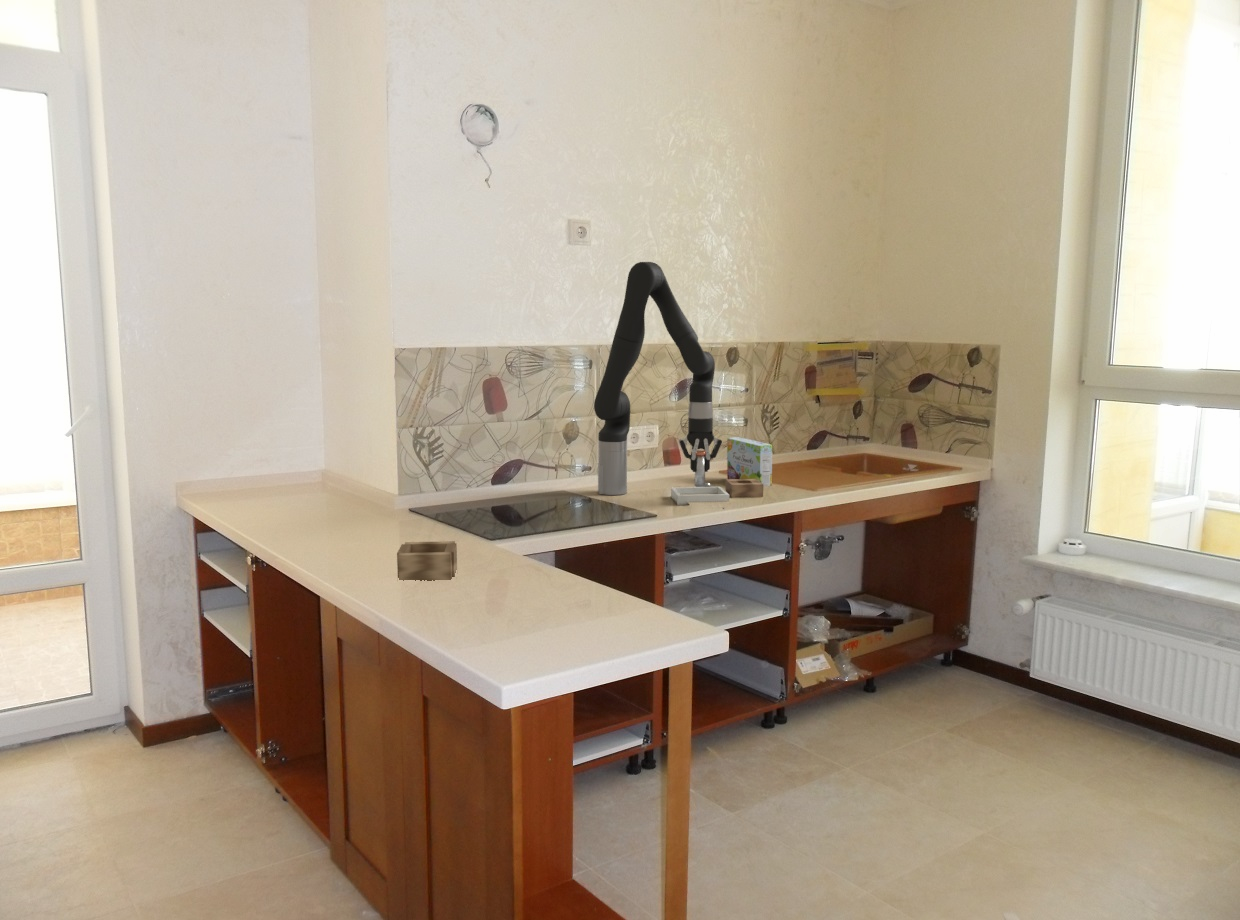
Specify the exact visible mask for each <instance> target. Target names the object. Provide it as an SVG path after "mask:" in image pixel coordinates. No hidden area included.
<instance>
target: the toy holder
mask: <svg viewBox="0 0 1240 920" xmlns="http://www.w3.org/2000/svg"><path fill="white" fill-rule="evenodd" d="M457 546H458V545H457V542H456V541H455V540H454V541H453V540H450V541H449V540H447V541H445V540H443V541H405V542H404V543H403V544H401V545H400V547H399V549H398V550H397V552H396V558H397V559H396V564H397V567H396V568H397V579H398V578H399V580H403V581H404V580H415V581H416V580H420V581H422V580H424V581H425V580H427V581H432V580H433V581H435V580H451V579H452V577H455V573H456V570H457V571H458V554H457V553H458V550H457V549H458V548H457Z"/></svg>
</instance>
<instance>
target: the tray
mask: <svg viewBox="0 0 1240 920" xmlns="http://www.w3.org/2000/svg"><path fill="white" fill-rule="evenodd" d="M670 497H671V498H672V500H673V501H674V503H675V504H676V505H677V506H690V503H706V502H707V503H708V502H709V503H711V502H713V503H714V502H715V503H716V502H717V503H718V502H721V503H722V502H730V496H729V494H728V493H727V492H726V491H725V489H724V488H723V487H722V486H717V487H696V486H681V487H680V486H679V487H678V486H677V487H676V486H674V487H670Z"/></svg>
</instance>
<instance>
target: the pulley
mask: <svg viewBox="0 0 1240 920" xmlns="http://www.w3.org/2000/svg"><path fill="white" fill-rule="evenodd" d="M704 487H718V486H716V485H711V482H705V486H704Z"/></svg>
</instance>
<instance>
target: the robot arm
mask: <svg viewBox="0 0 1240 920" xmlns="http://www.w3.org/2000/svg"><path fill="white" fill-rule="evenodd" d="M624 293H625V294H624V300H623V305H622V308H621V312H620V315H619V319H618V323H617V326H616V329H615V332H614V336H613V340H612V344H611V349H610V353H609V356H608V359H607V362H606V367H605V370H604V375H603V377H602V380H601V383H600V385H599V387H598V390H597V392H596V396H595V397H594V398H595V399H594V403H593V409H594V410H593V411H594V413H595V415H596V416H597V418H598V419H600V420H601V421H604V425H603V427H602V428H601V429H600V430H599V432H598V462H597V492H598V495H605V496H606V495H607V496H617V495H619V496H620V495H625V494H627V493H628V485H627V484H628V434H629V432H630V426H631V423H630V422H631V402H630V398H629V396H628V394H626V393H625V391H622V389H623V385H624V383H625V380H626V378H627V376H628V375H629V373H630V372H631V371H632V369H633V367H634V366H635V365H636V363H637V361H638V359H639V356H640V353H641V350H642V347H643V343H644V340H645V339H644V338H645V333H646V332H645V331H646V329H645V328H646V326H645V324H646V323H645V312H646V306H647V304H648V300H649V298H650V297H651V299H652V301H654V303H655V304H656V306H657V308H658V311H659V312H660V315H661V317H662V321H663V324H664V326H665V328H666V331H667V333H668V334H669V336H670V337H671V339H672V340H673V343H674V344H675V345H676V346H677V348H678V350H679V352H680V353H679V354H680V355H681V358H682V360H683V362H684V364H685V365H686V368H687V369H688V370H689V371H690V372H691V373H692V382H691V384H690V385H689V393H688V395H689V396H688V397H689V401H688V402H689V403H688V410H687V415H688V424H687V425H688V427H687V428H688V430H687V431H688V433H687V435H686V437H685V438H682V439H678V443H679V446H680V448H681V451H682V452H683V455H684V457H685V458H686V459H688V460H690V464H689V465H690V466H689V467H690V470H691V471H692V472H693V473H695V472H696V460H695V457H696V453H697V450H704V451H705V452H706V455H705V473H708V472H709V470H710V467H711V465H710V464H711V461H710V460H711V459H715V458H717V456H718V452H719V450H720V448H721V446H722V442H723V440H722V439H720V438H718V437H717V438H716V437H715V436H714V433H713V429H714V425H713V424H714V422H713V421H714V413H713V412H714V409H713V384H714V383H713V382H714V378H715V377H714V375H715V368H716V365H715V364H716V361H715V358H714V356H713V355H712V353H710V352H709V351H705V350H703V348H702V346H701V345H700V342H699V337H698V334H697V332H696V331H695V330H694V327H693V326H692V324H691V323H690V322H689V320H688V319H687V317H686V315H685V313H684V312H683V310H682V308H681V307H680V305H679V304H678V302H677V300H676V298H675V296H674V294H673V291H672V290H671V287H670V285H669V282H668V280H667V277H666V276H665V273H664V270H663V268H662V267H661V266H660V265H659V264H657V263H655V262H652V261H639V262H636V263H635V264H634V265H633V266H632V267H631V268H630V269H629V272H628V276H627V281H626V288H625V292H624ZM712 442H713V445H714V446H713V448H712V450H711V453H710V449H709V447H710V445H711V444H712ZM688 443H689V445H691V451H690V453H689V451H688V448H687V445H688Z"/></svg>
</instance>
